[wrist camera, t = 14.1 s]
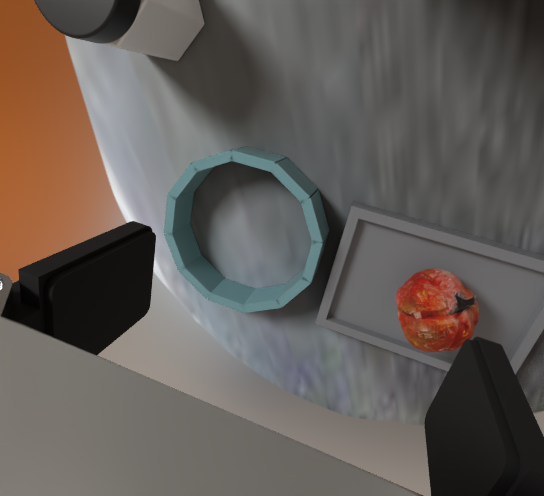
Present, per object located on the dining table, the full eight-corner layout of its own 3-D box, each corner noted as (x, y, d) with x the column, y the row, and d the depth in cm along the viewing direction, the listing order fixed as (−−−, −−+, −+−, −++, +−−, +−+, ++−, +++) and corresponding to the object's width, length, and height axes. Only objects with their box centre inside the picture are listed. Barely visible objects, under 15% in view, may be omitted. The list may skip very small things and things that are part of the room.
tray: (353, 201, 37) (351, 205, 36) (569, 262, 33) (579, 271, 32) (318, 314, 43) (314, 323, 41) (499, 378, 39) (504, 391, 37)
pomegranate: (433, 324, 40) (524, 320, 32) (392, 366, 37) (482, 375, 28) (398, 267, 40) (480, 246, 31) (354, 303, 37) (432, 292, 28)
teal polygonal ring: (193, 131, 40) (173, 133, 36) (346, 173, 37) (341, 180, 33) (177, 268, 47) (159, 281, 43) (304, 314, 43) (296, 332, 40)
